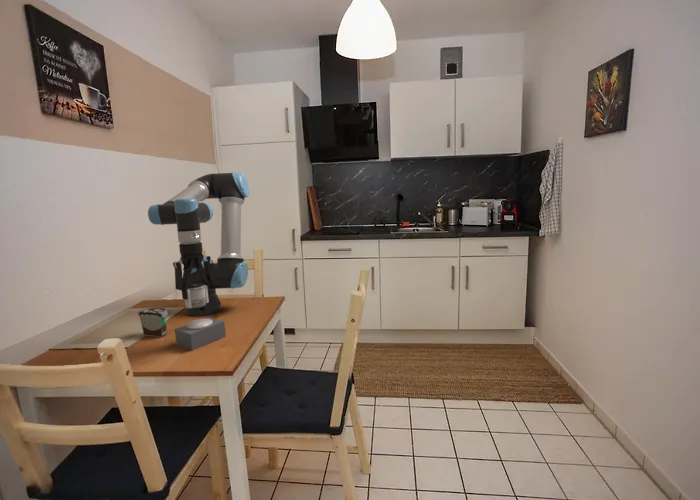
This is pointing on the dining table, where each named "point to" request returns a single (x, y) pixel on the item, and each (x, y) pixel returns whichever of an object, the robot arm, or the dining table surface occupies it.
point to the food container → (153, 321)
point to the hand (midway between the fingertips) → (197, 304)
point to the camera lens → (197, 295)
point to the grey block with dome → (200, 333)
